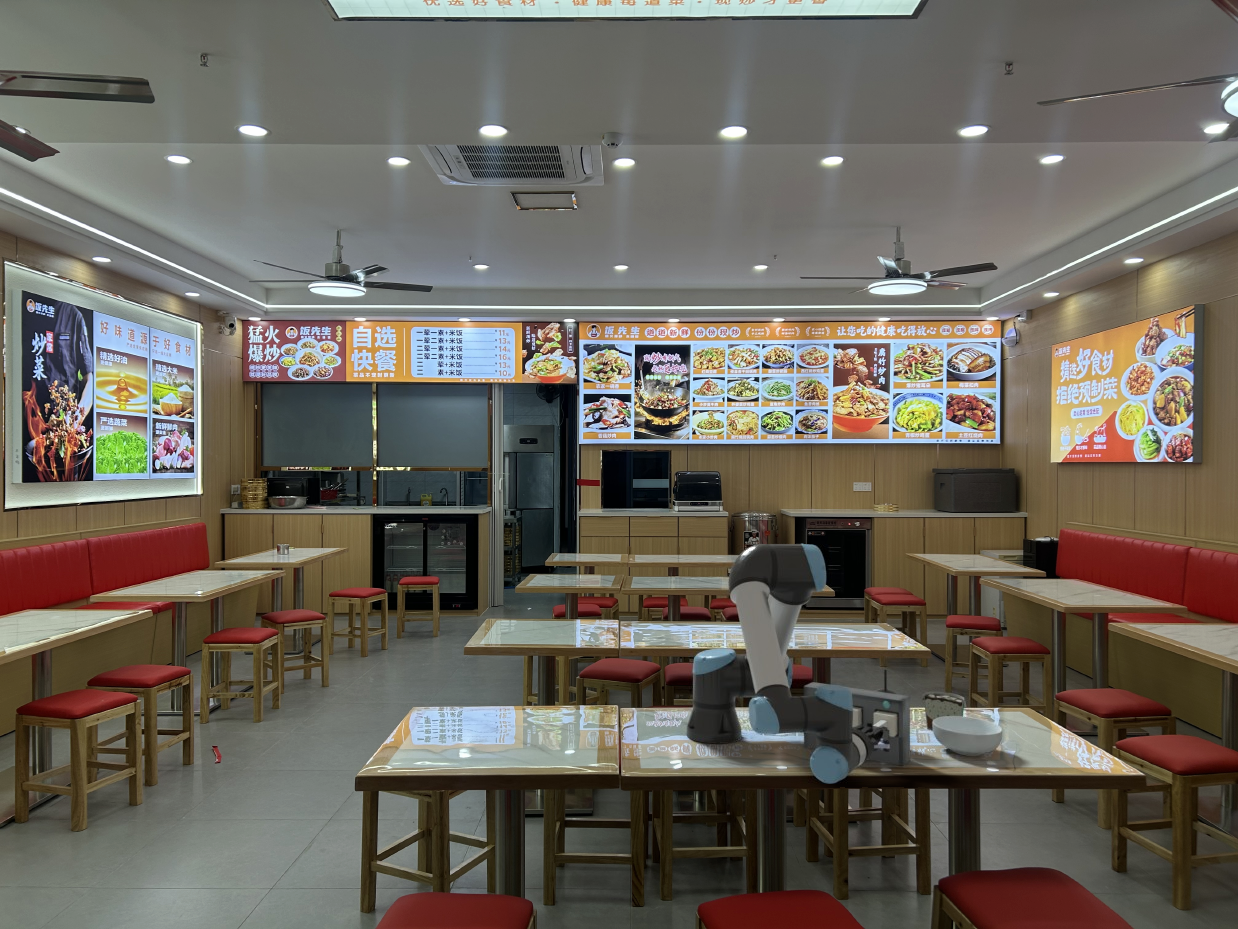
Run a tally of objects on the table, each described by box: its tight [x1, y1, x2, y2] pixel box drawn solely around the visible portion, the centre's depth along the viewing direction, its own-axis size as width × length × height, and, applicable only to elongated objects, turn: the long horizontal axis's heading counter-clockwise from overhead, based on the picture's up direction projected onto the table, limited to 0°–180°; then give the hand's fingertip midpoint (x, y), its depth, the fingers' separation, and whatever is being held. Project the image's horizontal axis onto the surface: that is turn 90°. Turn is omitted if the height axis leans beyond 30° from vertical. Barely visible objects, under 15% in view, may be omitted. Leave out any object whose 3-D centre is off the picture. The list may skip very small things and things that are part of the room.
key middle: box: [852, 706, 863, 728], centre depth 212 cm, size 4×5×5 cm
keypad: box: [803, 681, 911, 767], centre depth 215 cm, size 6×26×16 cm, turn 55°
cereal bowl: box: [932, 715, 1003, 757], centre depth 217 cm, size 17×17×7 cm
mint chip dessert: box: [921, 691, 968, 731], centre depth 237 cm, size 12×6×10 cm, turn 47°
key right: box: [874, 710, 899, 737], centre depth 207 cm, size 4×5×5 cm
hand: (884, 725), depth 205 cm, fingers closed
